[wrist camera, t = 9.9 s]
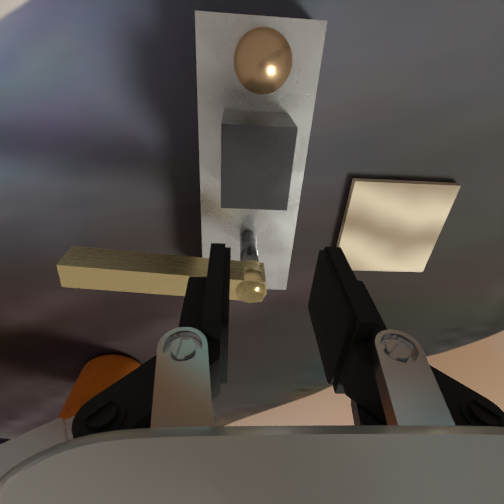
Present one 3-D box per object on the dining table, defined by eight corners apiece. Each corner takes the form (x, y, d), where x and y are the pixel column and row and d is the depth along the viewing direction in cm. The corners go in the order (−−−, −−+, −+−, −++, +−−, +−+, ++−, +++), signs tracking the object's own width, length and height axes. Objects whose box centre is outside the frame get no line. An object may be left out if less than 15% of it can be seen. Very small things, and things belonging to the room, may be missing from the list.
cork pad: (352, 178, 33) (355, 181, 32) (456, 182, 33) (460, 185, 33) (331, 265, 39) (333, 269, 38) (419, 268, 39) (422, 271, 39)
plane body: (200, 14, 25) (184, 3, 17) (315, 23, 25) (349, 16, 18) (206, 265, 38) (198, 323, 30) (281, 267, 39) (292, 324, 31)
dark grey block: (223, 109, 25) (221, 123, 21) (287, 112, 25) (297, 127, 21) (223, 182, 28) (220, 208, 24) (279, 185, 29) (286, 210, 24)
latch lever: (76, 268, 26) (62, 288, 24) (71, 243, 25) (55, 262, 23) (262, 284, 28) (264, 303, 26) (266, 261, 26) (269, 280, 24)
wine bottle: (132, 398, 52) (36, 729, 27) (72, 376, 48) (-103, 736, 23) (163, 366, 48) (84, 723, 23) (100, 340, 44) (-75, 729, 19)
